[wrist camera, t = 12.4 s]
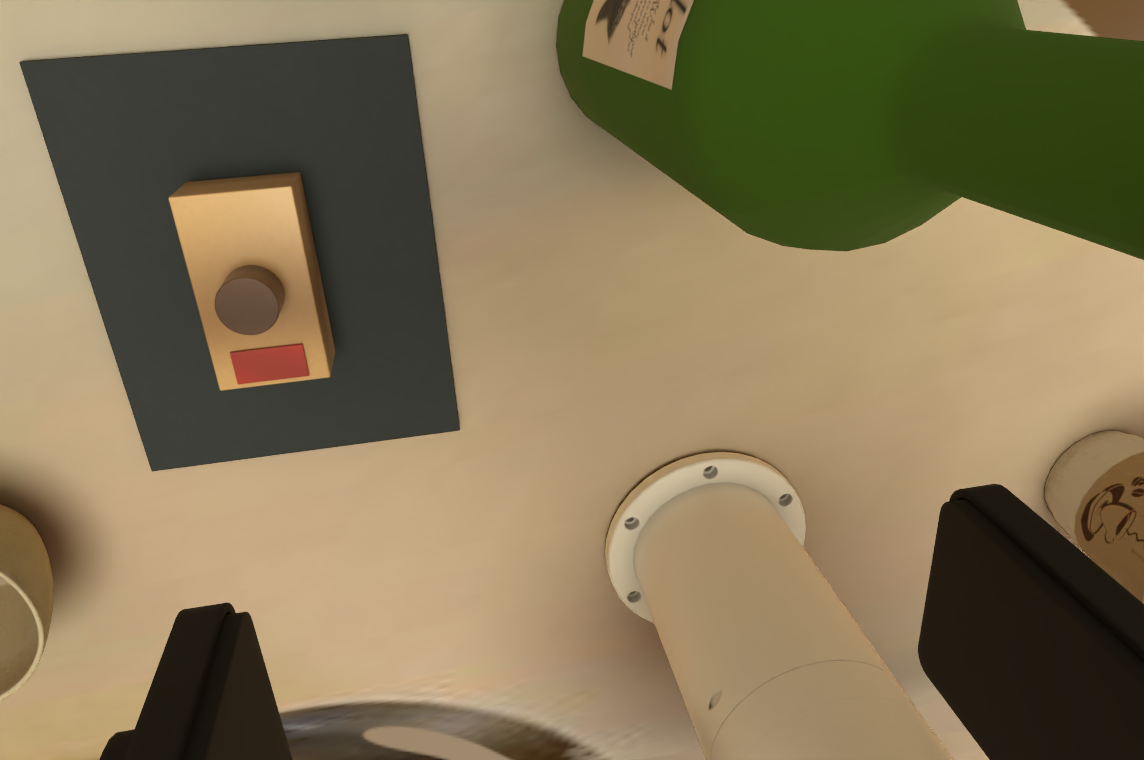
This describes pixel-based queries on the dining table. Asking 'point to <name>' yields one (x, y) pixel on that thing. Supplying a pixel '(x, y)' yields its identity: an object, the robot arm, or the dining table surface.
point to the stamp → (255, 278)
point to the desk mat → (337, 217)
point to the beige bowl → (22, 600)
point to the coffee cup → (1104, 503)
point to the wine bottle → (867, 113)
